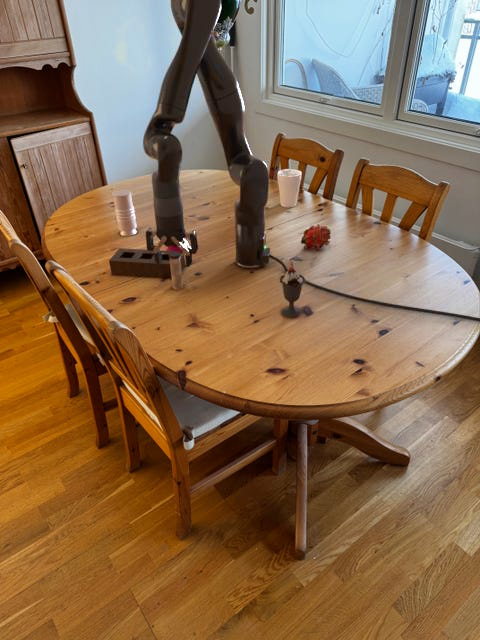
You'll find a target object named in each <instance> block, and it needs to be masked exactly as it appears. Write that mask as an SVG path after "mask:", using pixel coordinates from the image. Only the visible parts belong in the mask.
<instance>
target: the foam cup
mask: <svg viewBox="0 0 480 640" xmlns="http://www.w3.org/2000/svg"><path fill="white" fill-rule="evenodd" d="M302 175H303V174H302V171H301V170H299V169H293V168H284V169H280V170H279V171H277V181H278V192H279V202H280V206H281V207H283V208H294V207H296V206H297V201H298V197H299V191H300V186H301V181H302Z"/></svg>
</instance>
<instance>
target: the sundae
mask: <svg viewBox="0 0 480 640" xmlns="http://www.w3.org/2000/svg"><path fill="white" fill-rule="evenodd" d="M289 262H290V267H288V270H289V271H287V272H285V273H284V274H282V275H280V277H279V283H280V284H282V291H283V297H284V299H285V300H286V301H287V302H288V306H286V307H284V308H283V309H282V310H281V314H282V315H283V316H284V317H287V318H296V317H298V316H300V315H301V310H300V309H299V308H297V307H295V304H294V303H296V302H297V301H298V300H299V299H300V296H301V293H302V290H303V289H302V288H303V285H304V284H306V283H305V281H307V280H306V278H305V276H303V275H302V274H300V273H299V272H298V271H297V269H296V270H295V267H294V265H293V262H292V259H291V258H289Z"/></svg>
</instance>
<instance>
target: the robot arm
mask: <svg viewBox="0 0 480 640" xmlns="http://www.w3.org/2000/svg"><path fill="white" fill-rule="evenodd" d="M170 9H171V13H172V14H171V15H172V17H173V20H174V22H175V24H176V26H177V29H178V30H179V33H180V35H181V38H180V42H179V45H178V48H177V50H176V52H175V54H174V55H173V58H172V60H171V62H170V63H169V66H168V68H167V70H166V72H165V73H164V76H163V79H162V82H161V86H160V89H159V94H158V97H157V98H158V99H157V103H156V106H155V107H156V108H155V110H154V112H153V114H152V115H151V118H150V120H149V122H148V124H147V126H146V129H145V131H144V134H143V138H142V147H143V151H144V153H145V154H146V155H147V156H148V158H150V159H153V160H155V161H157V170H155V171H154V172H153V173H152V174H151V187H152V193H153V194H152V195H153V211H154V220H155V227H156V229H153V227H149V228H147V230H146V231H145V242H146V244H145V245H146V250H148V251H153V252H154V256H155V262H156V263H157V265H160V264H161V263H162V257H161V250H160V249H161V248H162V247H163V245H164V246H165V247H167V248H168V247H169V246H173V247H177V246H178V247H179V248H180V249H181V250H183V251H184V258H185V268H190V266H191V265H192V264H193V255H196V254H197V252H198V250H199V244H198V236H197V235H198V234H197V231H196V230H192V231H186V229H185V221H184V205H183V199H182V195H181V184H180V183H181V182H180V174H181V171H182V170H181V168H182V164H183V163H182V162H183V147H182V146H183V145H182V143H181V141H180V139H179V138H178V137H177V136H176V135H175V134H173V133H172V132H173V130H174V127H176V126H177V125H180V124H182V123H183V122H184V119H185V117H186V114H187V109H188V105H189V103H190V102H189V101H190V97H191V93H192V90H193V85H194V83H195V79H196V77H197V79H198V81H199V84H200V85H199V86H200V87H201V91H202V94H203V97H204V100H205V104H206V105H207V108H208V111H209V115H210V118H211V120H212V122H213V125H214V127H215V131H216V133H217V136H218V138H219V141H220V144H221V147H222V150H223V154H224V158H225V162H226V167H227V171H228V175H229V177H230V179H231V180H232V182H233V183H234V184H235V185H237V186H238V187H239V198H238V199H237V200H236V201H235V202H234V204H233V206H234V207H233V209H234V210H233V211H234V239H235V264H236V266H237V267H239V268H241V269H245V270H246V269H247V270H254V269H260V268H264V267H265V264H269V263H270V259H271V260H274V261H275V262H277V263H279V264H280V266H281V267H282V268H283V270H284V271H285V273H287V271H289V268H288V267H287V266H286V264H285V263H284V262H283V261H282V260H281V259H279V258H277V257H276V256H274V255H272V254H271V248H270V247H267V232H266V206H267V204H268V201H269V189H270V171H269V168H268V165H267V163H266V162H265V161H263V160H262V159H260V158H258V157H256V156H255V155H253V153H252V151H251V149H250V147H249V144H248V141H247V138H246V134H245V133H246V132H245V116H246V115H245V113H246V112H245V111H246V109H245V102H244V98H243V96H242V92H241V89H240V84H239V82H238V79H237V77H236V75H235V72H234V71H233V69H232V68H231V66H230V65H229V63H228V62H227V61H226V59H225V58H224V57H223V55H222V53H221V51H220V49H219V48H218V47H217V44H216V42H215V39H214V36H213V33H214V30H215V28H216V25H217V23H218V20H219V17H220V14H221V11H222V0H170ZM155 236H156V237H157V239H158V240H159V241H158V243H157V245H155V243H154V237H155ZM185 237H187V240H188V241H190V245H189V243H188V241H186V240H185V239H184V238H185ZM304 284H306V285H308V286H310V287H313V288H316V289H318V290H320V291H321V290H322V291H324V292H328V293H330V294H333V295H336V296H340V297H344V298H348V299H351V300H356V301H359V302H363V303H368V304H373V305H379V306H383V307H390V308H394V309H395V308H396V309H401V310H407V311H413V312H414V311H415V312H420V313H427V314H433V315H440V316H445V317H453V318H458V319H465V320H470V321H475V322H480V317H477V316H470V315H466V314H460V313H454V312H447V311H440V310H433V309H427V308H420V307H416V306H415V307H414V306H409V305H408V306H407V305H401V304H396V303H390V302H384V301H379V300H374V299H368V298H364V297H360V296H355V295H351V294H348V293H343V292H340V291H337V290H334V289H330V288H328V287H325V286H321V285H318V284H315V283H313V282H310V281H309V280H306V281H305V283H304Z"/></svg>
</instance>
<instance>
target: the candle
mask: <svg viewBox="0 0 480 640" xmlns="http://www.w3.org/2000/svg"><path fill="white" fill-rule="evenodd" d="M111 196H112V197H113V199H112V200H113V203H114V215H115V220H116V221H117V229H118V231H120V233H119V234H120V235H121V236H123V237H130V236H134V235H136V234H137V230H136V229H137V227H138V225H137V222H136V218H137V215H136V210H135V206H134V204H133V198H132V191H131V190H130V189H125V188H121V189H117V190H113V191H112V192H111Z"/></svg>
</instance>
